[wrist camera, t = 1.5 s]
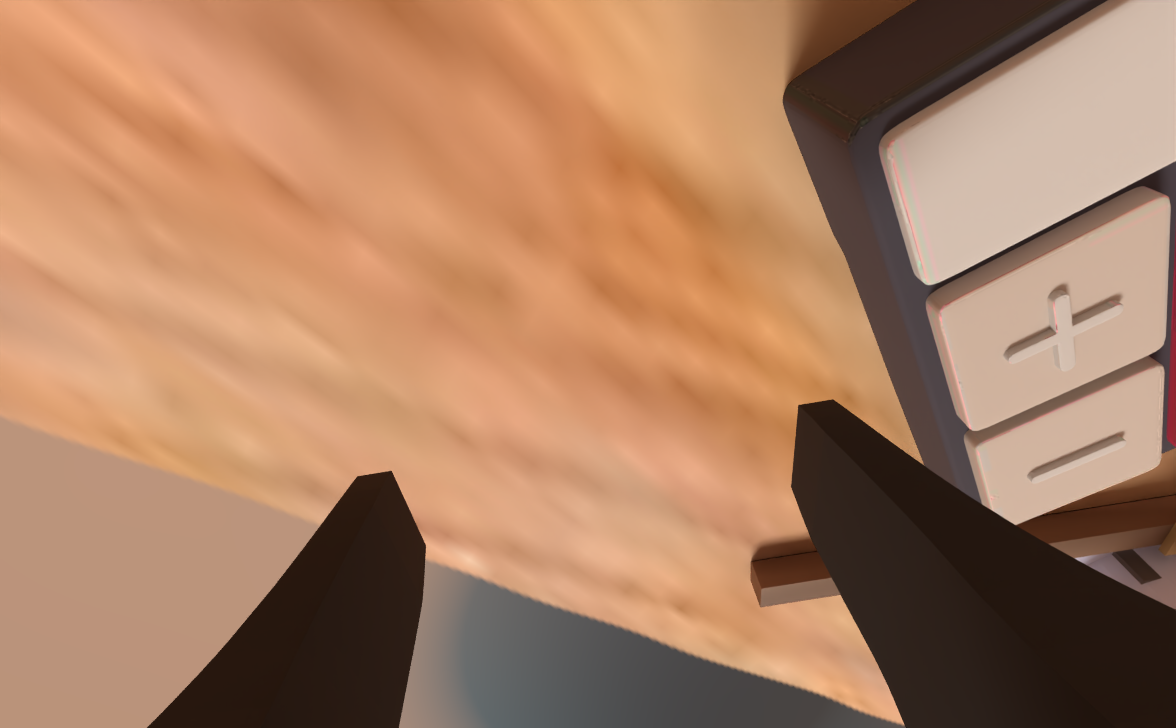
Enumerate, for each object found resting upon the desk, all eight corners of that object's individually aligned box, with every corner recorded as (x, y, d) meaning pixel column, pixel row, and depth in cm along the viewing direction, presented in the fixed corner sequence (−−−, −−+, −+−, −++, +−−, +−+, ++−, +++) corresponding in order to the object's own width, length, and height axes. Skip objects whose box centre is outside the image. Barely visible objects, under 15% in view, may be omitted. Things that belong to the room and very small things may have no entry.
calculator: (988, 553, 18) (863, 142, 10) (912, 455, 22) (772, 88, 14) (1400, 389, 16) (1695, -350, 7) (1240, 306, 19) (1319, -263, 11)
